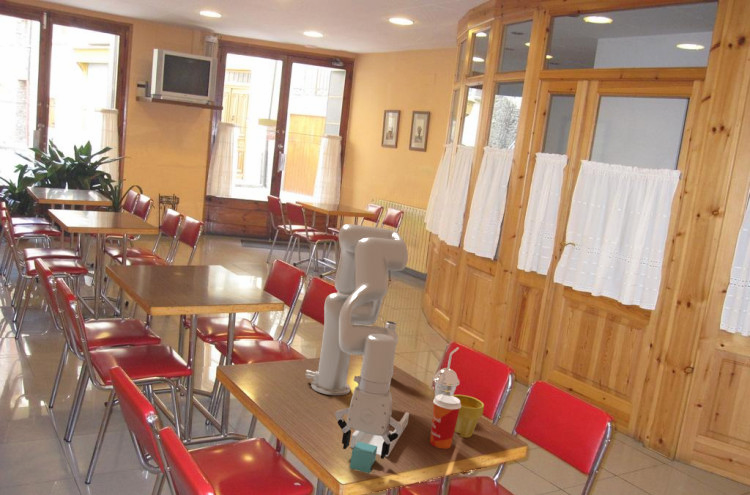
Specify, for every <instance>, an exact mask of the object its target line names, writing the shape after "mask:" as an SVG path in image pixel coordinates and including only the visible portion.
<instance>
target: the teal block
mask: <svg viewBox="0 0 750 495" xmlns="http://www.w3.org/2000/svg"><path fill="white" fill-rule="evenodd" d="M351 450H352V451H351V456H350V457H351V458H350V462H349V463H350V464H349V469H351V470H355V471H358V472H363V473H366V474H370V473H371V471H372V470H373V467H372V466H373V464H374V463H375V462H376V458H377V454H376V452H377V446H374V445H370V444H366V443H363V442H359V441H358V442H357V444H356V445H355V446H354V448H352V449H351Z"/></svg>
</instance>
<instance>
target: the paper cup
mask: <svg viewBox="0 0 750 495" xmlns="http://www.w3.org/2000/svg"><path fill="white" fill-rule="evenodd" d="M432 402H433V410H432V418H431V430H430V438H429V439H430V440H429V442H430V445H432V446H433V447H435V448H439V449H450V448H451V447H452V443H453V438H454V434H455V432H454V431H455V427H456V422H457V418H458V414H459V409H460V408H461V404H460V400H459V399H458V398H456V397H454V396H449V395H443V394H440V395H437V396H436V397H435V396H434V399H433V400H432Z"/></svg>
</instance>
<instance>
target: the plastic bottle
mask: <svg viewBox="0 0 750 495" xmlns="http://www.w3.org/2000/svg"><path fill="white" fill-rule="evenodd" d="M384 327H385V328H389V329H390V330H392V332H393V334H394V335H395V341H396V346H397V344H398V341H399V336H398V333H397V331H396V329H397V322H394V321H387V320H386V322H385V325H384ZM393 375H394V369H393V370H392V376H391V378H392V377H393Z"/></svg>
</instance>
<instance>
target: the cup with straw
mask: <svg viewBox="0 0 750 495" xmlns="http://www.w3.org/2000/svg"><path fill="white" fill-rule="evenodd" d="M459 349H460V347H458V346H457V347H456V348H454V349H453V350H452V351H450V353H449V355H448V356H449V357H448V362H447V367H444V368H440V369H439V370H438V371H437V373H435V374H434V375H433V377H432V380H433V382H434V398H435V397H436V396H437V395H440V394H443V395H449V396H452V395H455V394H454V393H455V392H456V389H457V386H459V385H460V379H459V378H458V375H457V372H456V371H454V370H453V369H452V368H450V367H451V361H452V357H453V356H452V355H453V354H454V353H455V352H457V351H458V350H459Z"/></svg>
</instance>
